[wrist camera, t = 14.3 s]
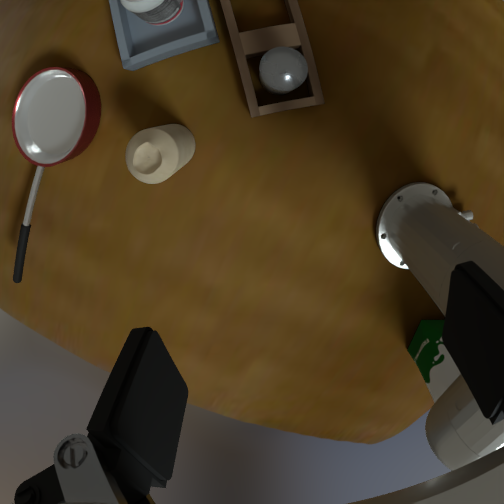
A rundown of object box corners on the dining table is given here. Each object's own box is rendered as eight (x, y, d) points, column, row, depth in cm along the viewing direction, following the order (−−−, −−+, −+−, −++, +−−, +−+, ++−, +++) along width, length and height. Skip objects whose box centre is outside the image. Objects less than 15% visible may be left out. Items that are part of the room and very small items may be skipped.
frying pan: (76, 282, 45) (58, 304, 39) (19, 256, 43) (-2, 273, 37) (115, 75, 31) (90, 72, 26) (42, 64, 30) (14, 63, 24)
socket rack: (267, -70, 22) (267, -79, 20) (320, 104, 33) (324, 103, 31) (203, -58, 23) (200, -67, 21) (252, 117, 34) (251, 117, 32)
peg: (292, 56, 31) (301, 43, 23) (301, 91, 32) (312, 86, 25) (255, 63, 31) (254, 51, 24) (264, 98, 33) (265, 94, 26)
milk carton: (438, 351, 50) (479, 431, 32) (400, 353, 50) (438, 442, 32) (456, 315, 46) (510, 394, 28) (418, 315, 46) (469, 405, 28)
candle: (157, 119, 34) (125, 124, 25) (200, 128, 35) (180, 135, 26) (148, 162, 36) (115, 180, 27) (190, 171, 37) (168, 193, 28)
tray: (195, -45, 24) (190, -55, 21) (219, 42, 30) (216, 36, 27) (114, -15, 25) (105, -22, 23) (133, 70, 31) (123, 68, 28)
